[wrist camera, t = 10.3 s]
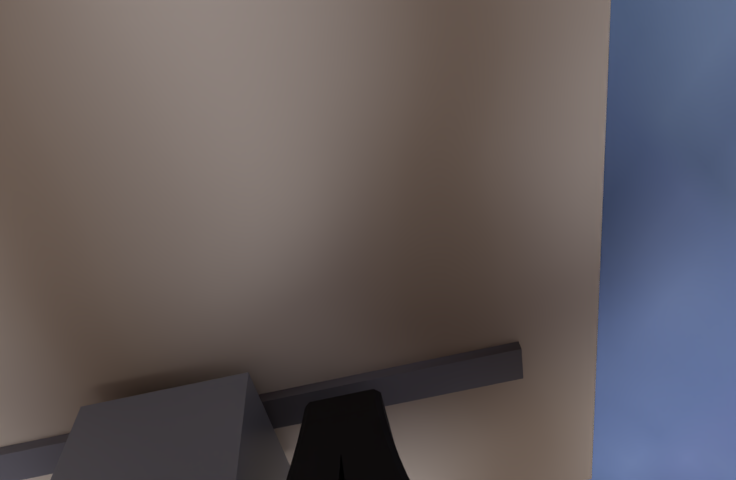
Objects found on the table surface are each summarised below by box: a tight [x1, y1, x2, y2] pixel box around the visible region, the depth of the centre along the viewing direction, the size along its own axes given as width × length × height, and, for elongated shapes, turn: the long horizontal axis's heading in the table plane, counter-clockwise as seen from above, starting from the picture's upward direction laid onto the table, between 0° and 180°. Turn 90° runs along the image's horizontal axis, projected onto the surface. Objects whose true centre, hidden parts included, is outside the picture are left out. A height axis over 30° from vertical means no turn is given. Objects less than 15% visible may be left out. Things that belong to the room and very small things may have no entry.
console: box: [0, 0, 611, 480], centre depth 9 cm, size 16×19×2 cm
